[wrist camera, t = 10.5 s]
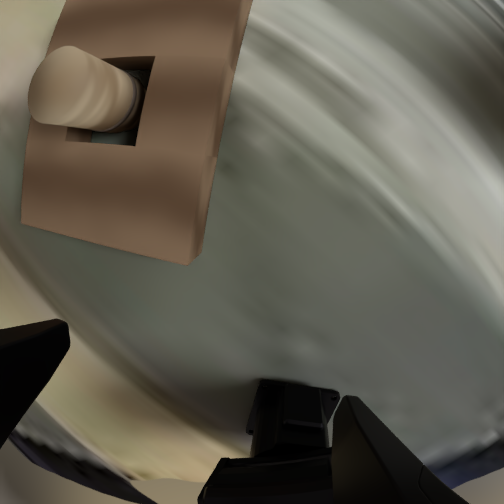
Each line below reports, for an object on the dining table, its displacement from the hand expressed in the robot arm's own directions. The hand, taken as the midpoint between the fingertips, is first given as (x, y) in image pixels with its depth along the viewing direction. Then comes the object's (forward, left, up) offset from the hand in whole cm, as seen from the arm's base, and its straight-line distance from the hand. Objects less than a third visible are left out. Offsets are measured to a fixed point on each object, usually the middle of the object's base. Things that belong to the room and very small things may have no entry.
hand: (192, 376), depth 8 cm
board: (+9, +10, -12) cm, 18 cm away
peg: (+9, +10, -12) cm, 18 cm away
